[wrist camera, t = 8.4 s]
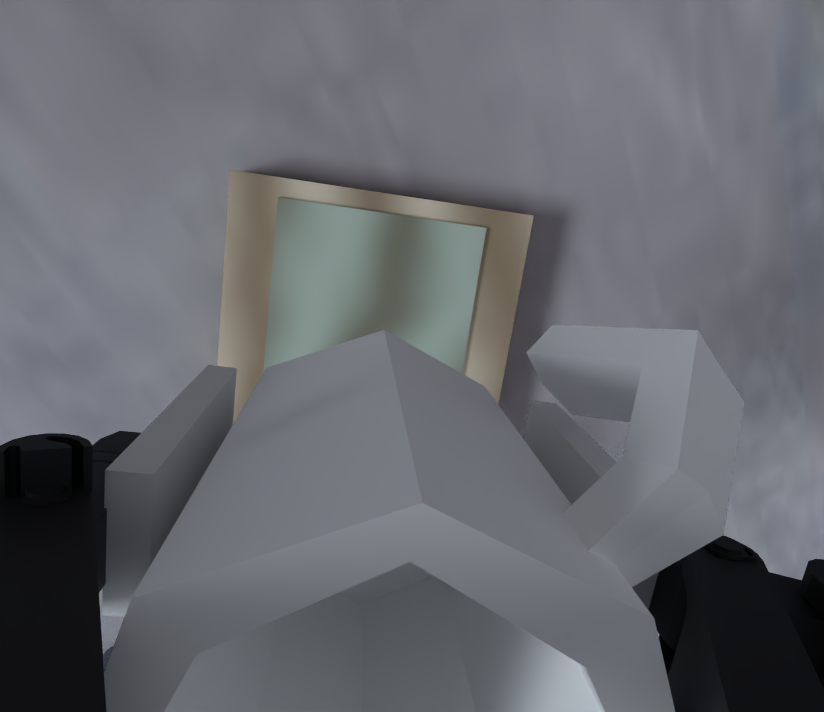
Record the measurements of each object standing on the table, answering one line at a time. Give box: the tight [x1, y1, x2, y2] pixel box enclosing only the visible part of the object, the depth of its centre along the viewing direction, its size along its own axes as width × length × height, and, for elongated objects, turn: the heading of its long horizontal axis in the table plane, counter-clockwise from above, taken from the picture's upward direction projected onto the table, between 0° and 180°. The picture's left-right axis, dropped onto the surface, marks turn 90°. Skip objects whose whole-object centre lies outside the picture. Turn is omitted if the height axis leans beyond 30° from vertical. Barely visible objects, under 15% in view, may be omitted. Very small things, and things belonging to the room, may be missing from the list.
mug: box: [104, 325, 744, 712], centre depth 12 cm, size 12×9×10 cm
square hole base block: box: [217, 170, 534, 424], centre depth 31 cm, size 16×26×8 cm, turn 172°
